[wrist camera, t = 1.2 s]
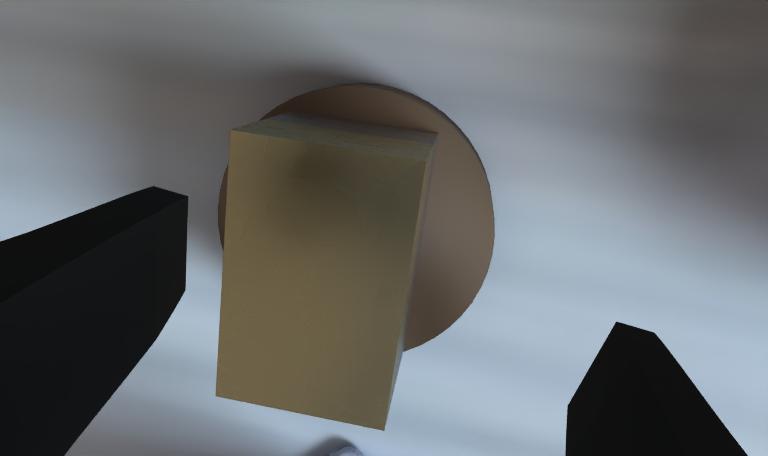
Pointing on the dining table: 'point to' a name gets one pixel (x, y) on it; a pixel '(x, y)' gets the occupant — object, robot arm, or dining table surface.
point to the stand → (444, 209)
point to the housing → (320, 263)
